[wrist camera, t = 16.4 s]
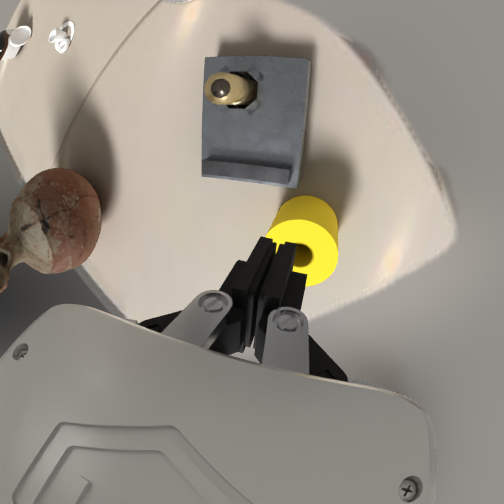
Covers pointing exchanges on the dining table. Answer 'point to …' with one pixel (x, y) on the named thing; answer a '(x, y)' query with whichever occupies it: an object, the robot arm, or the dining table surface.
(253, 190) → the dining table surface
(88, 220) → the jug
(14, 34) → the spread jar
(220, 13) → the dining table surface
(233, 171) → the jig
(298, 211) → the yellow hollow cylinder
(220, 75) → the cylinder
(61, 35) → the teacup and saucer
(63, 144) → the dining table surface
